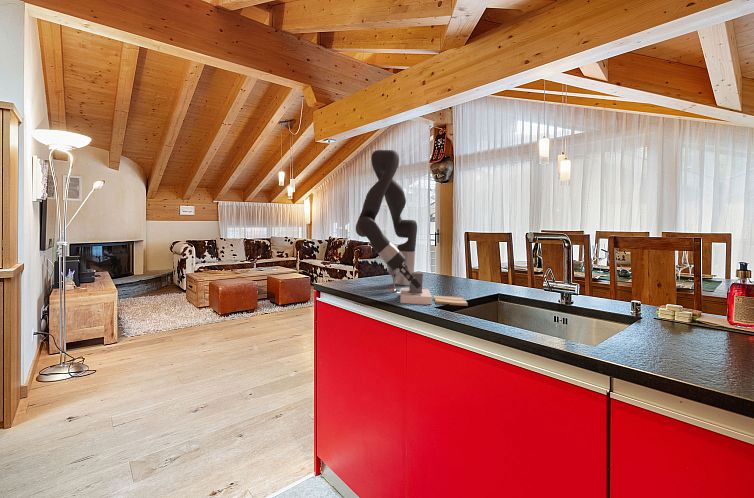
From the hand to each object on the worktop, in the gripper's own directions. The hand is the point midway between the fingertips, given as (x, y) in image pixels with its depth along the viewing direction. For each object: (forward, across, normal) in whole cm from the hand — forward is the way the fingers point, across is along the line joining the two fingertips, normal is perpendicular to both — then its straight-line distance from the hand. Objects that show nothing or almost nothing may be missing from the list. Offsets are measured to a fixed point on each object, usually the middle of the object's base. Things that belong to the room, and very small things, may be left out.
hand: (418, 285), depth 152 cm
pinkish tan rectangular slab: (+3, 0, +5) cm, 6 cm away
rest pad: (+13, -1, -5) cm, 14 cm away
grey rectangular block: (+3, 0, +5) cm, 6 cm away
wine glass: (-3, +16, +11) cm, 20 cm away
